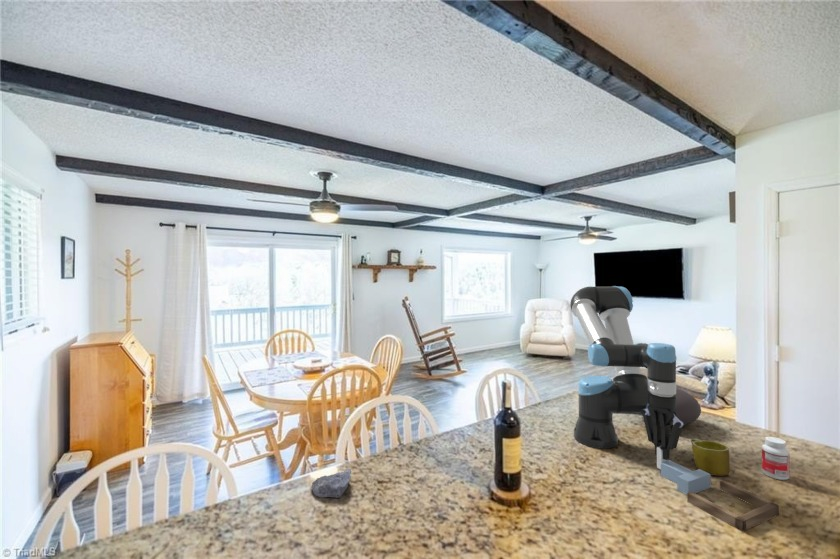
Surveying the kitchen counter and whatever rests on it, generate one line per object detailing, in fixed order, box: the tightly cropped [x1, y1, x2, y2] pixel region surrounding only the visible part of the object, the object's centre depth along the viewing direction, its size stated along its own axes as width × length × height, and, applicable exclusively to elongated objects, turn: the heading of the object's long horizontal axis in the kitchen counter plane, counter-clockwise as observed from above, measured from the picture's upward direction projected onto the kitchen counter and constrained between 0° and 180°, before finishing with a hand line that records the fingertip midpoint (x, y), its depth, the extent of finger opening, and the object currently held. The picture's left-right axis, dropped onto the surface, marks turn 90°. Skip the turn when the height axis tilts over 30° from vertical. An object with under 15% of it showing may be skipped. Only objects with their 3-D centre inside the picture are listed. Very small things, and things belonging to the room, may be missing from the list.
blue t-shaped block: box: [660, 459, 711, 496], centre depth 110 cm, size 10×10×4 cm
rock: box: [310, 468, 352, 499], centre depth 108 cm, size 12×5×10 cm
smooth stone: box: [641, 387, 702, 426], centre depth 155 cm, size 25×25×15 cm
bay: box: [686, 479, 780, 532], centre depth 98 cm, size 13×16×2 cm
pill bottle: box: [761, 436, 790, 481], centre depth 113 cm, size 6×6×11 cm
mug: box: [690, 438, 731, 477], centre depth 118 cm, size 12×10×10 cm
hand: (662, 467), depth 115 cm, fingers closed
